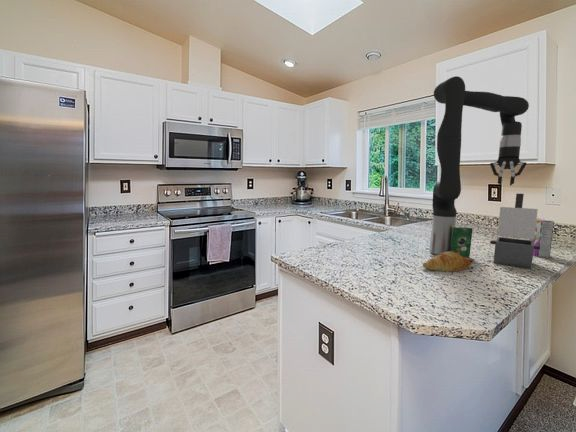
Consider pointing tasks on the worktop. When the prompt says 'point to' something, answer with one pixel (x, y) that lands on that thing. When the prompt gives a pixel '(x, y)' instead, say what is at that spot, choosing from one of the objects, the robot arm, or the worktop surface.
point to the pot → (514, 252)
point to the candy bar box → (543, 237)
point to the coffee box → (461, 240)
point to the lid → (517, 220)
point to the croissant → (448, 262)
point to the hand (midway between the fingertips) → (505, 185)
